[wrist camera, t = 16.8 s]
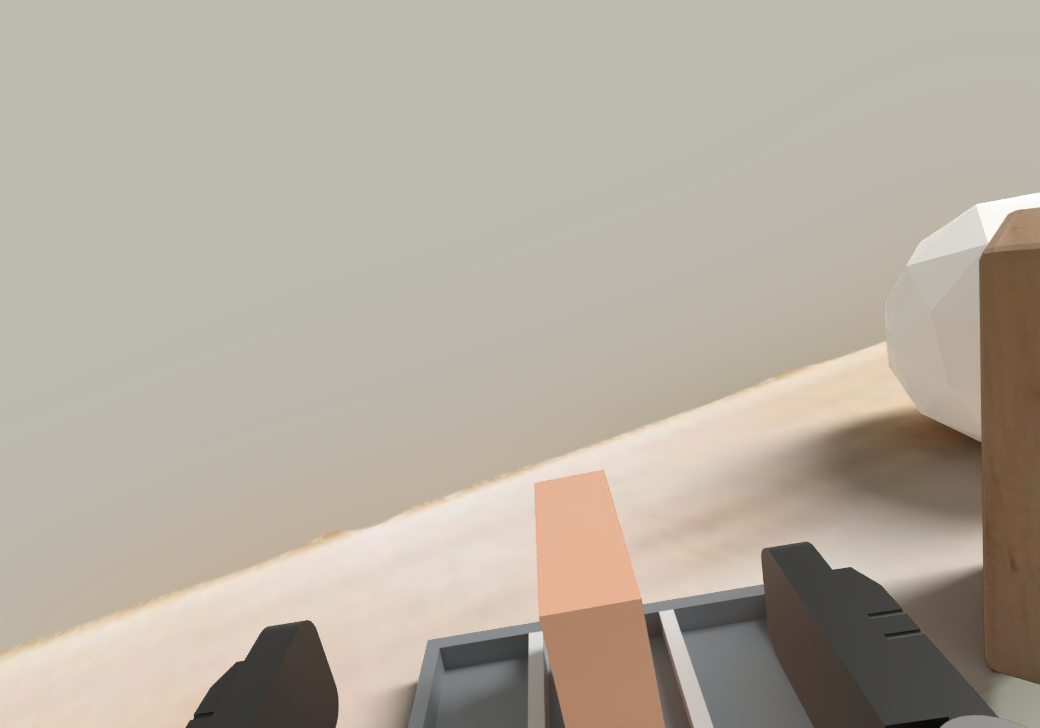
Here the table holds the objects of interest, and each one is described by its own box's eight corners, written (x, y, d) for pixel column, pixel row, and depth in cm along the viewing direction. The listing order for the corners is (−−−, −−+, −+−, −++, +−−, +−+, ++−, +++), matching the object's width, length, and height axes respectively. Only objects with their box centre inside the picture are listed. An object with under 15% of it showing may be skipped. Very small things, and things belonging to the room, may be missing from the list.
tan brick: (686, 842, 23) (641, 598, 20) (595, 856, 23) (538, 616, 21) (638, 653, 33) (603, 469, 30) (575, 664, 33) (534, 483, 30)
